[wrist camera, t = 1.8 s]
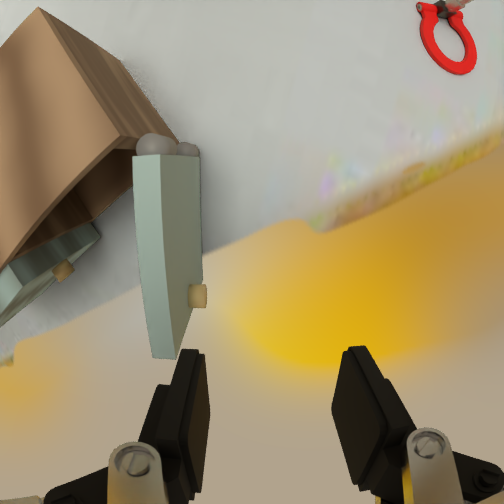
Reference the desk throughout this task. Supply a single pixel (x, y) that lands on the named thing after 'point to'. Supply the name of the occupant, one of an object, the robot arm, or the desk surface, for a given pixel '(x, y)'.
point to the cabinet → (60, 151)
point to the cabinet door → (168, 238)
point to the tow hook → (450, 11)
